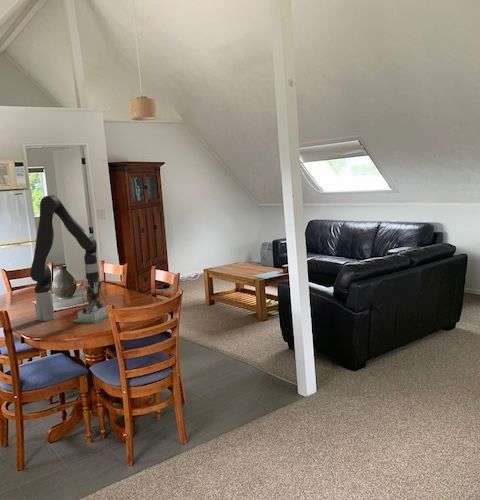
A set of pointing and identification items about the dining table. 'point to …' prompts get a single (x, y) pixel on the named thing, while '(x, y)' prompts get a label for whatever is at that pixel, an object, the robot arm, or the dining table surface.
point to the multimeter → (90, 299)
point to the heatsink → (92, 315)
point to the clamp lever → (92, 305)
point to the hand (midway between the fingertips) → (95, 299)
